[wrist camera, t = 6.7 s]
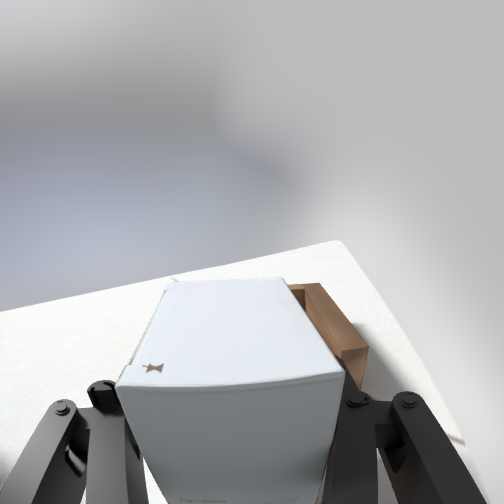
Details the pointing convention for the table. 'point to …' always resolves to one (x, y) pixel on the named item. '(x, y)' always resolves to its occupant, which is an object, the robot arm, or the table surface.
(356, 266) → the table surface
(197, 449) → the small box
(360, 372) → the rack
